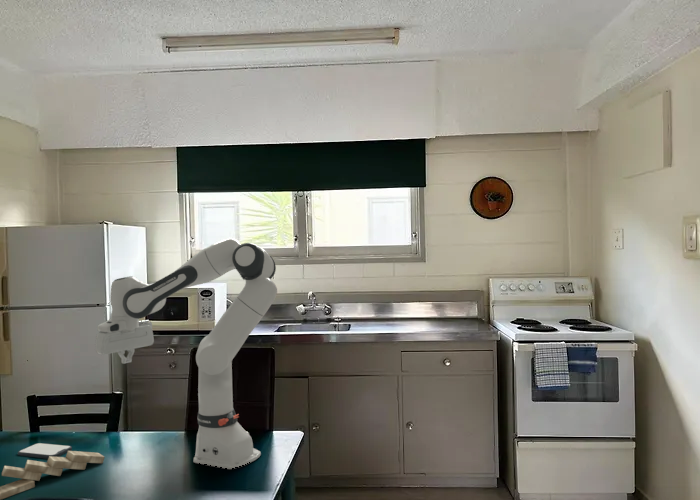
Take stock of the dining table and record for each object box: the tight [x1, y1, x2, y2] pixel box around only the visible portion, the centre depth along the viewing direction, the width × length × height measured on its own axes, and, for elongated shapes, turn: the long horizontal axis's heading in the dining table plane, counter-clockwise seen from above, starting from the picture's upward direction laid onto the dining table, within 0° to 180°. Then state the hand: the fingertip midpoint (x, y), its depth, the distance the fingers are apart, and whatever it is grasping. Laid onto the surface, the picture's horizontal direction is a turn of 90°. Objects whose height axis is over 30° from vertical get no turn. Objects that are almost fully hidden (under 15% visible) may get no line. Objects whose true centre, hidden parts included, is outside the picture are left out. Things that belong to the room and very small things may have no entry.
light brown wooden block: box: [46, 456, 88, 470], centre depth 167 cm, size 2×5×10 cm
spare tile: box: [0, 478, 36, 500], centre depth 155 cm, size 2×5×10 cm
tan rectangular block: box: [65, 450, 105, 464], centre depth 172 cm, size 2×5×10 cm
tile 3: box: [24, 459, 64, 477], centre depth 163 cm, size 2×5×10 cm
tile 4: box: [1, 465, 43, 482], centre depth 160 cm, size 2×5×10 cm
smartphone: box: [17, 442, 73, 460], centre depth 184 cm, size 9×2×16 cm
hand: (126, 362), depth 187 cm, fingers closed
